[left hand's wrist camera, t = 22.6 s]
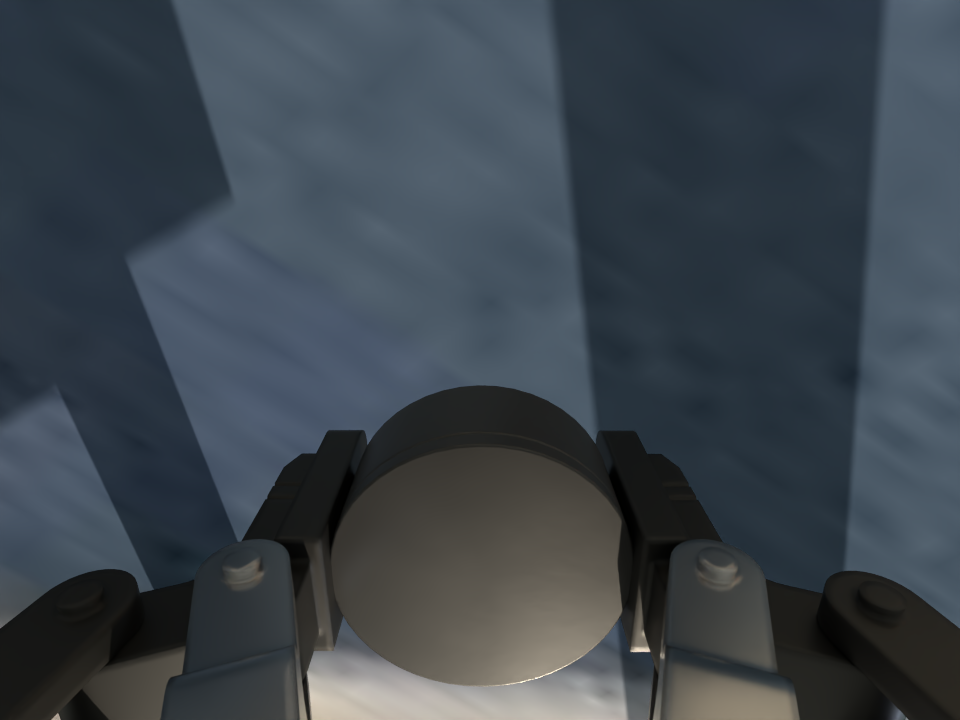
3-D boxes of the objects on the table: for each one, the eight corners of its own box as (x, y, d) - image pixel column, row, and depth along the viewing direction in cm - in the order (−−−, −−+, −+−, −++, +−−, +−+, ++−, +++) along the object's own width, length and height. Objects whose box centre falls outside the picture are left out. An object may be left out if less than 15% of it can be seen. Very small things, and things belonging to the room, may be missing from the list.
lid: (378, 357, 10) (354, 413, 8) (644, 416, 11) (681, 481, 9) (337, 573, 12) (309, 661, 10) (566, 615, 12) (582, 707, 10)
